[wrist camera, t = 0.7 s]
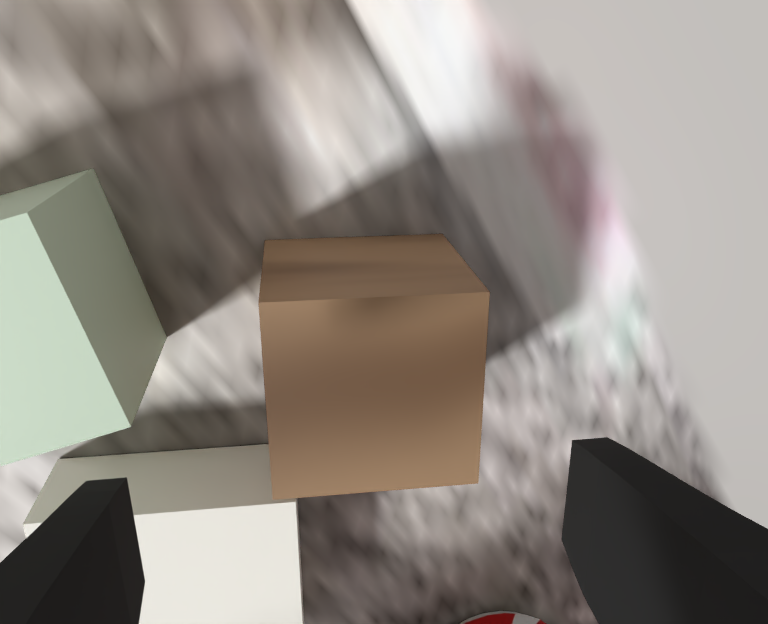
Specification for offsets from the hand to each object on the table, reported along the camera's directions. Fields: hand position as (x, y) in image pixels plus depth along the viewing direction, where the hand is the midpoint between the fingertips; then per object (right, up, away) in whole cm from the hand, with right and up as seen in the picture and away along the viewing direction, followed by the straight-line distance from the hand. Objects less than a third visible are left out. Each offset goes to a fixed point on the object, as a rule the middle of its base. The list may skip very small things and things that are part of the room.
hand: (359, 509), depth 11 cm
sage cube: (-9, +4, +8) cm, 12 cm away
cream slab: (-6, -4, +11) cm, 13 cm away
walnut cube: (0, +3, +9) cm, 10 cm away
